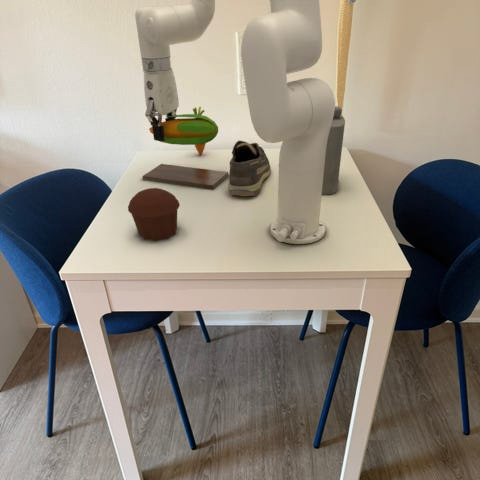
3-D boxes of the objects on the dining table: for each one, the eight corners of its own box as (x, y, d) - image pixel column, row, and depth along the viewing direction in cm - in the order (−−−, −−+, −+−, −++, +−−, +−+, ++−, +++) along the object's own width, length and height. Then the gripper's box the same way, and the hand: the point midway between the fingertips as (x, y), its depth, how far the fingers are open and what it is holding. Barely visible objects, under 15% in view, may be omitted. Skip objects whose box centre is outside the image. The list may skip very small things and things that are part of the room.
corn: (214, 117, 116) (142, 117, 119) (216, 147, 121) (146, 146, 124) (219, 111, 122) (150, 111, 125) (220, 140, 127) (154, 140, 129)
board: (212, 189, 123) (212, 185, 123) (143, 179, 131) (142, 175, 130) (228, 175, 131) (228, 171, 131) (161, 167, 138) (161, 163, 138)
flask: (339, 194, 118) (349, 115, 106) (318, 194, 118) (325, 115, 106) (334, 174, 130) (342, 100, 117) (314, 174, 130) (320, 100, 118)
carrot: (202, 151, 150) (198, 103, 140) (211, 154, 146) (207, 106, 137) (190, 154, 147) (185, 106, 138) (199, 158, 144) (194, 109, 135)
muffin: (185, 220, 108) (180, 181, 102) (180, 242, 100) (175, 200, 94) (137, 222, 109) (129, 182, 102) (128, 244, 100) (119, 202, 94)
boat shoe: (272, 162, 139) (272, 126, 133) (267, 200, 117) (267, 159, 110) (237, 162, 140) (236, 126, 134) (226, 199, 118) (224, 159, 111)
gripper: (151, 71, 107) (162, 147, 118) (185, 60, 119) (191, 129, 130) (125, 70, 109) (138, 144, 120) (161, 59, 121) (169, 127, 133)
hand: (165, 136), depth 125 cm, fingers closed on corn, 6 cm apart
